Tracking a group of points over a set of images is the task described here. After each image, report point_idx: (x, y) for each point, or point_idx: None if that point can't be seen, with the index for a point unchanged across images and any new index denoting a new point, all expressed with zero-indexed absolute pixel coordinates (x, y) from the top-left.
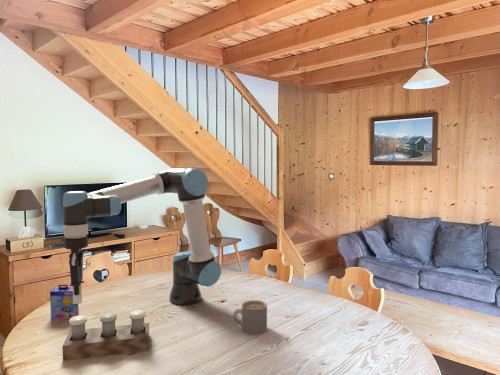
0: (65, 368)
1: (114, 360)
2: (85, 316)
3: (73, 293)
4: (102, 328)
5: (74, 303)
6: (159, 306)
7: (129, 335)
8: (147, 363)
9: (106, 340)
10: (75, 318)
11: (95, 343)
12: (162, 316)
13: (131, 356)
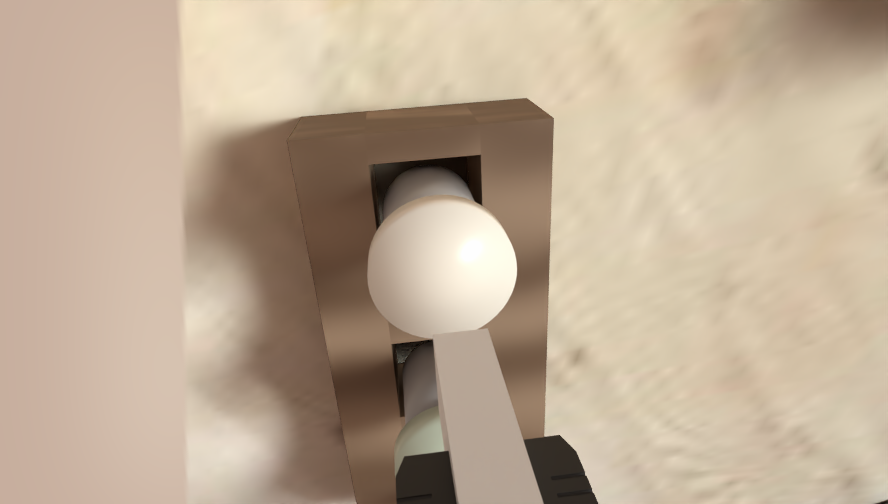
0: (205, 159)
1: (283, 377)
2: (481, 321)
3: (448, 449)
4: (425, 380)
5: (434, 354)
6: (858, 464)
7: (394, 475)
8: (247, 499)
9: (345, 384)
10: (453, 252)
11: (324, 330)
12: (722, 490)
13: (317, 435)
